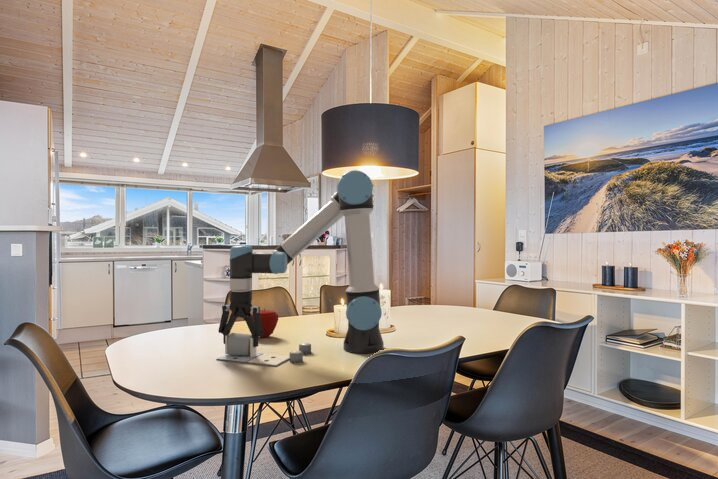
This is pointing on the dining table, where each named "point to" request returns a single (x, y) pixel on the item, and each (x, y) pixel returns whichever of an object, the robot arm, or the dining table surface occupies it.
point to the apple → (268, 322)
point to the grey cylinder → (239, 344)
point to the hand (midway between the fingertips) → (240, 354)
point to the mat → (257, 359)
